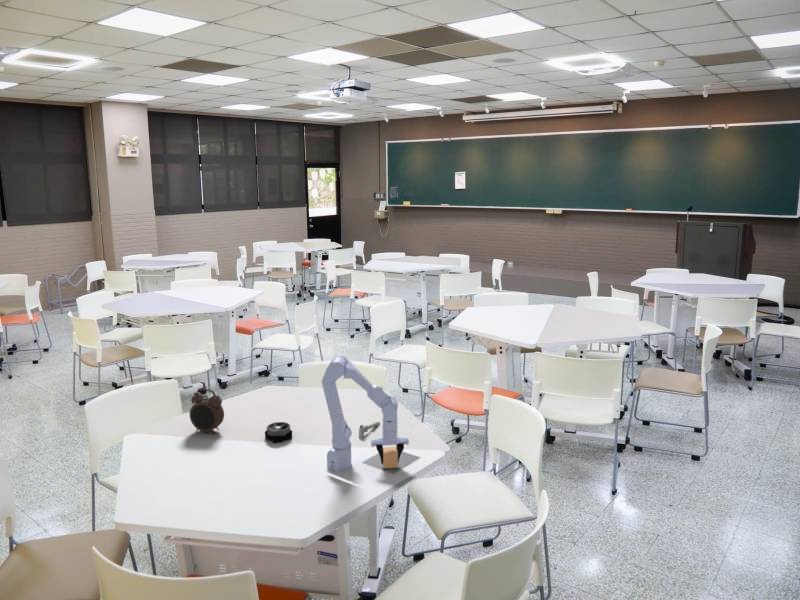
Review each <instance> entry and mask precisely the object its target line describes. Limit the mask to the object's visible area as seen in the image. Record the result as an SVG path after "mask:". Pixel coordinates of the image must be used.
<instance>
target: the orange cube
mask: <svg viewBox="0 0 800 600" xmlns="http://www.w3.org/2000/svg"><path fill="white" fill-rule="evenodd" d="M382 465H383V468H398V452H397V449H396V446H392V447H391V446H389V447H388V446H387V447H383V464H382Z"/></svg>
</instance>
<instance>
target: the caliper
mask: <svg viewBox="0 0 800 600" xmlns="http://www.w3.org/2000/svg"><path fill="white" fill-rule="evenodd" d="M380 424H381V422H380V421H375V422H373V423H371V424H368V425H364V424H361V425H359V429H358V439H362V438H363V437H364V436H365V433H368V431H369V430H370V429H372V428H375V427H377V426H379V425H380Z"/></svg>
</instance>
